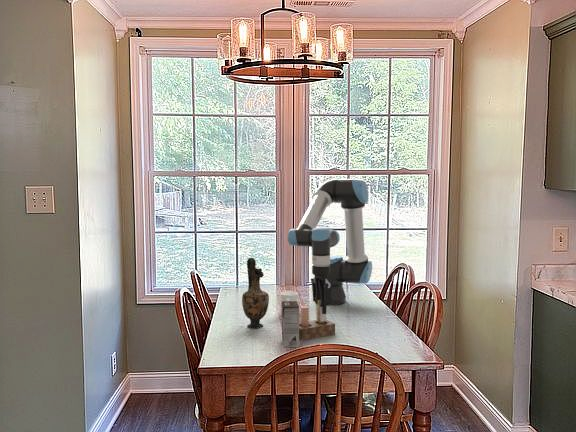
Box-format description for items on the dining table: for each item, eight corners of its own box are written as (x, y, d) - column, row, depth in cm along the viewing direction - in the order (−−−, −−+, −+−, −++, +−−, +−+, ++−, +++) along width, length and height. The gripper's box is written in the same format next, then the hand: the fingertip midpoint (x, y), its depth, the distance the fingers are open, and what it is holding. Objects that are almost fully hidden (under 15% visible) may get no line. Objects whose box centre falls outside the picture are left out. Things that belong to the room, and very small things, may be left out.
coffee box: (281, 340, 222) (281, 301, 221) (297, 339, 223) (297, 300, 221) (283, 347, 213) (282, 306, 212) (299, 346, 214) (299, 306, 212)
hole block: (323, 328, 237) (323, 318, 236) (335, 334, 229) (335, 323, 229) (291, 334, 229) (291, 323, 229) (301, 340, 221) (301, 329, 221)
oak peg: (322, 326, 233) (322, 298, 232) (326, 328, 230) (326, 300, 229) (316, 327, 232) (316, 299, 230) (320, 329, 229) (320, 301, 228)
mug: (296, 319, 252) (296, 297, 251) (278, 318, 253) (278, 296, 252) (298, 312, 264) (298, 291, 263) (281, 312, 265) (281, 291, 264)
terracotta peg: (306, 334, 229) (306, 306, 228) (310, 336, 227) (310, 307, 226) (299, 335, 228) (299, 307, 227) (303, 337, 225) (303, 308, 224)
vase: (248, 331, 234) (247, 262, 231) (237, 324, 245) (236, 258, 242) (273, 327, 239) (272, 259, 237) (261, 320, 250) (260, 255, 247)
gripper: (304, 263, 233) (304, 317, 236) (323, 268, 220) (323, 326, 222) (319, 261, 237) (319, 314, 239) (338, 266, 224) (338, 323, 226)
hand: (321, 320), depth 231 cm, fingers closed on oak peg, 2 cm apart
